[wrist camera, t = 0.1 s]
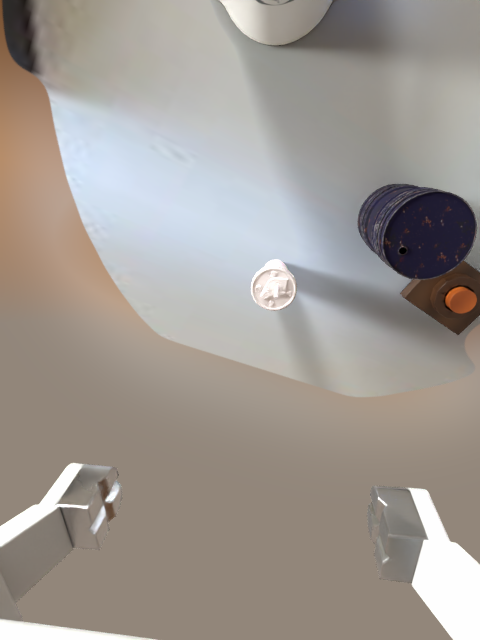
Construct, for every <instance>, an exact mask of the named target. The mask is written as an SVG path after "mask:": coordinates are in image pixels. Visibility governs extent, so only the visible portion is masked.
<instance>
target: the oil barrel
mask: <svg viewBox="0 0 480 640" xmlns="http://www.w3.org/2000/svg"><path fill="white" fill-rule="evenodd" d="M358 229H359V233H360V235H361V237H362V239H363V240H364V241H365V243H366V244H367V245H368V246H369V248H370V249H371V250H372V251H373V252H375V253H376V254H377V255H378V256H379V257H380V258H381V260H382V261H384V262H385V263H386V264H387V265H388V266H389V267H391V268H392V269H393V270H395V271H396V272H397V273H398V274H400V275H402V276H404V277H407V278H410V279H415V280H426V279H433V278H437V277H439V276H442V275H444V274H446V273H448V272H450V271H451V270H453V269H454V268H456V267H457V266H458V265H459V264H460V263H461V262H462V261H463V260H464V259H465V258H466V256H467V255H468V254H469V252H470V250H471V249H472V246H473V244H474V241H475V238H476V231H477V223H476V218H475V214H474V212H473V210H472V208H471V207H470V206H469V204H468V203H467V202H466V201H465V200H464V199H462V198H461V197H459V196H457V195H455V194H452V193H450V192H445V191H442V190H438V189H433V188H427V187H418V186H414V185H408V184H392V185H387V186H384V187H382V188H380V189H378V190H376V191H375V192H373V193H372V194H371V195H370V196H369V197H368V198H367V199H366V200H365V202H364V203H363V205H362V207H361V209H360V212H359V215H358Z"/></svg>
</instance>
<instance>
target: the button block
mask: <svg viewBox="0 0 480 640" xmlns="http://www.w3.org/2000/svg"><path fill="white" fill-rule="evenodd" d="M459 286H462V287H466V288H468V289H469V290H471V291H472V292H473V293H475V295H476V297H477V302H476V305H475V306H474V308H473V309H472V310H470V311H469V312H466V313H455V312H454V311H452V310H451V309H450V308H449V307H448V306H447V305H446V303H445V297H446V294H447V293H448V292H449V291H450V290H451V289H453V288H455V287H459ZM400 294H401V295H402V296H403V297H404V298H405V299H406V300H408V301H409V302H411V303H412V304H413V305H415V306H416V307H418V308H419V309H421V310H422V311H424V312H425V313H427V314H428V315H429V316H431V317H432V318H434V319H435V320H437V321H438V322H440V323H441V324H443V325H444V326H445V327H447V328H448V329H450V330H451V331H453V332H454V333H456V334H457V335H459V334H460V333H461V332H462V331H463V330H464V329H465V328H466V327H467V326H468V325H470V324H471V323H472V322H473V321H474V320H475V319H476V318H477V317H478V316H479V315H480V272H478V271H477V270H476V269H474V268H473V267H471V266H470V265H469V264H467V263H466V262H465V261H462V262H461V263H460V264H459V265H458V266H457V267H456V268H454V269H453V270H451V271H450V272H448V273H446V274H444V275H442V276H439V277H437V278H433V279H426V280H415V279H413V280H412V281H411V282H410V283H409V284H408V285H407V286H406V288H405V289H404V290H403V291H402V292H401V293H400Z"/></svg>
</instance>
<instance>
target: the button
mask: <svg viewBox="0 0 480 640" xmlns="http://www.w3.org/2000/svg"><path fill="white" fill-rule="evenodd" d="M476 302H477V297H476V295H475V293H473V292H472V291H471V290H469V289H468V288H466V287H462V286H459V287H455V288H453V289H451V290H450V291H449V292H448V293H447V294H446V297H445V303H446V305H447V306H448V307H449V308H450V309H451V310H452V311H454V312H455V313H466V312H469V311H470V310H472V309H473V308H474V306H475V305H476Z"/></svg>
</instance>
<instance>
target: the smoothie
mask: <svg viewBox="0 0 480 640" xmlns="http://www.w3.org/2000/svg"><path fill="white" fill-rule="evenodd" d="M296 291H297V284H296V280H295V278H294V276H293V274H292V273H291V272H290V271H289V270H288V269H287V267H286V265H285V264H284V263H283V262H282V261H280V260H271V261H269V262H268V263H267V264H266V265H265V266H264V268H263V269H261V270H259V271H258V272H257V273H256V274H255V276H254V278H253V280H252V283H251V293H252V296H253V299H254V300H255V302H256V303H257V304H258V305H259V306H261V307H262V308H264V309H267V310H272V311H275V310H281V309H284V308H286V307H287V306H288V305H290V304H291V303H292V301H293V300H294V298H295V295H296Z"/></svg>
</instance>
